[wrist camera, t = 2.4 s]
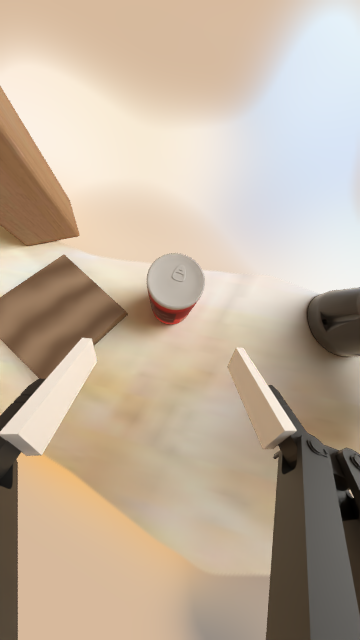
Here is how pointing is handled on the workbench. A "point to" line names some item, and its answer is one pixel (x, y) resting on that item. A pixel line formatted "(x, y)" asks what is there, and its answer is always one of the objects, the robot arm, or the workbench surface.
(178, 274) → the canned food
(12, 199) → the wooden block
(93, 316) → the walnut board
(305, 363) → the workbench surface
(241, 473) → the workbench surface
